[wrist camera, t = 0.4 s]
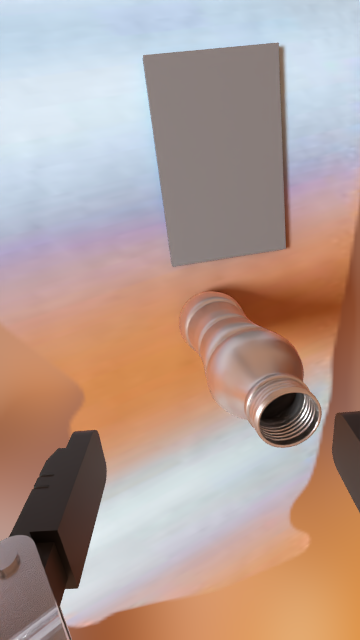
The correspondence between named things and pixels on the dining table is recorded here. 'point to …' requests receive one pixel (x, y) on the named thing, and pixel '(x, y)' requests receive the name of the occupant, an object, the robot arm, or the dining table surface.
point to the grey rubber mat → (219, 150)
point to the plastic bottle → (250, 369)
